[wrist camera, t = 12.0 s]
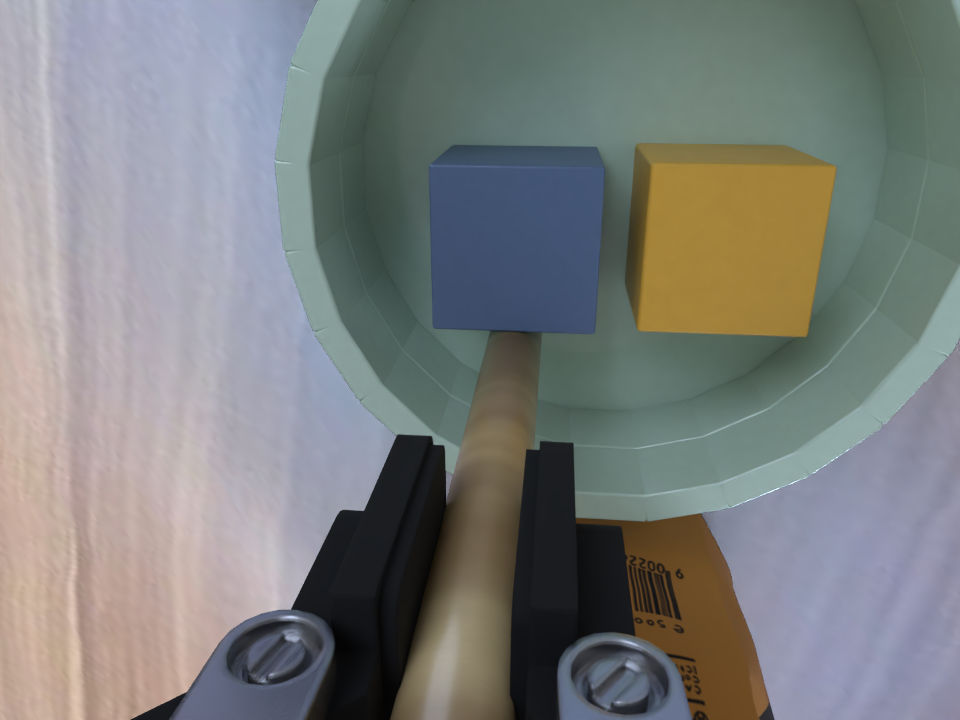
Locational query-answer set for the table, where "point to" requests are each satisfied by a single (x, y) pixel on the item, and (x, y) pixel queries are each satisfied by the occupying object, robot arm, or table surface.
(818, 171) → the block
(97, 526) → the table surface
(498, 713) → the stick
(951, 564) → the table surface
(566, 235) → the block
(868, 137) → the bowl
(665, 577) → the coffee package
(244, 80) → the table surface
